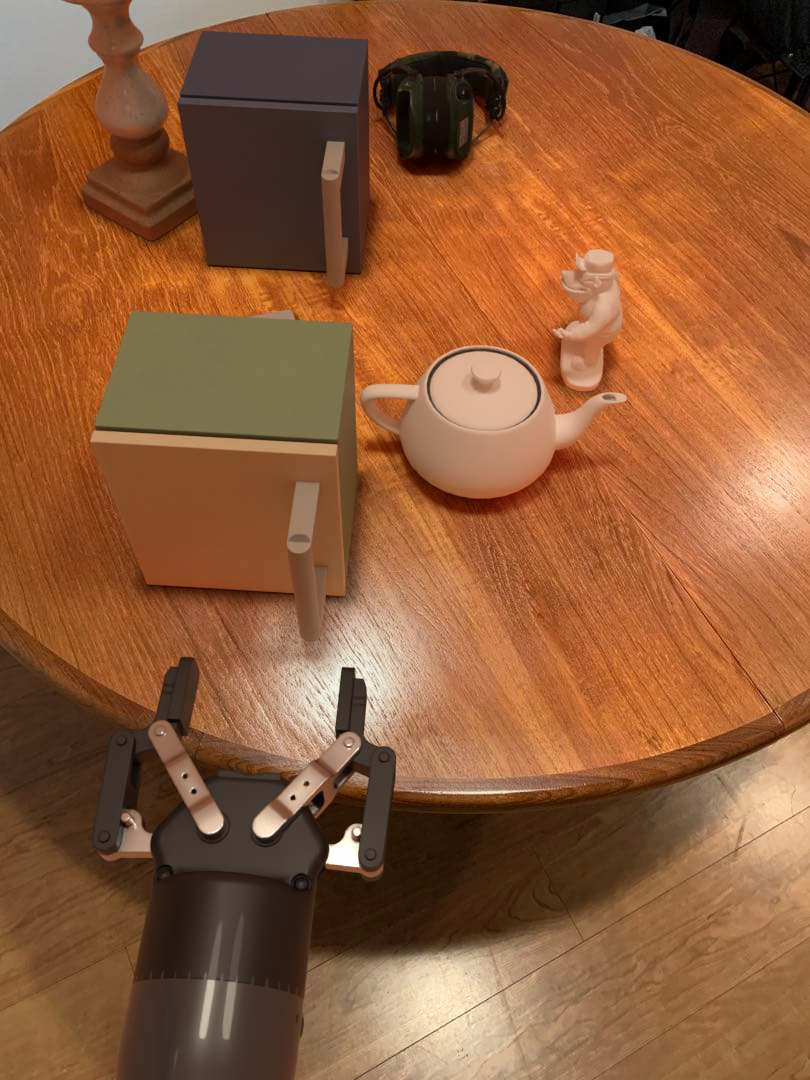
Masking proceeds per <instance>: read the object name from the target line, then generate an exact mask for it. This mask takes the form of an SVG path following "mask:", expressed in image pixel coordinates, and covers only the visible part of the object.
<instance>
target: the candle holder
mask: <svg viewBox="0 0 810 1080" xmlns="http://www.w3.org/2000/svg"><path fill="white" fill-rule="evenodd" d="M61 1H62V2H64V3H69V4H72V5H78V6H80V7H82V8H84V9H85V10H86V11H87V13H88V14H89V16H90V18H91V21H92V22H91V26H92V27H91V30H90V33H89V35H88V38H87V45H88V47H89V48H90V50H92V51H93V52H94V53H95V55H96V56H97V57H98V58H99V59H100V60H101V61H102V63H103V66H104V67H103V74H102V78H101V81H100V83H99V86H98V89H97V92H96V96H95V99H94V111H95V116H96V119H97V122H98V123H99V124H100V126H101V127H102V128H103V129H104V130H105V131H106V132H108V133H109V134H111V135H110V138H109V146H110V149H111V151H112V154H113V157H110V159H108V160H107V161H105V162H104V163H101V164H100V165H99V166H98V167H96V168H95V169H93V170H91V171H90V172H89V173H88V175H87V177H86V180H87V183H85V184H84V185H82V187H80V193H81V196H82V199H83V203H84V204H85V205H86V206H87V207H89V208H91V209H92V210H93V211H95V212H97V213H99V214H101V215H102V216H104V217H106V218H108V219H109V220H111V221H113V222H114V223H116V224H118V225H120V226H122V227H123V228H125V229H127V230H128V231H130V232H131V233H134V234H135V235H137V236H139V237H140V238H143V239H145V240H147V241H150V242H153V241H156V240H158V239H160V238H161V237H163V236H164V235H166V234H167V233H169V232H170V231H172V230H173V229H174V228H176V227H177V226H179V225H180V224H182V223H183V222H185V221H186V220H188V219H189V218H191V217H192V216H193V215H195V214H196V213H198V211H197V205H196V200H195V195H194V190H193V184H192V179H191V174H190V169H189V163H188V158H187V154H186V155H185V154H183V153H182V152H181V151H179V150H176V149H174V148H173V147H170V144H171V141H170V140H171V139H170V136H169V133H168V131H167V130H166V128H165V127H164V126H165V125H166V123H167V120H168V118H169V114H170V113H169V112H170V107H169V102H168V99H167V96H166V95H165V93H164V91H163V90H162V88H161V87H160V86H159V84H158V83H157V82H156V81H155V80H154V79H153V78H152V77H151V76H150V75H149V73H147V72H146V71H145V69H144V68H143V66H142V65H141V63H140V61H139V54H140V52H141V47H142V46H143V44H144V42H145V41H144V40H145V38H144V34H143V32H142V31H141V29H140V28H138V27H137V25H136V24H134V22H133V21H132V19H131V16H130V6H131V4H132V2H133V0H61Z"/></svg>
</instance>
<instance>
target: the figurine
mask: <svg viewBox="0 0 810 1080" xmlns="http://www.w3.org/2000/svg"><path fill="white" fill-rule="evenodd" d="M574 256H575V261H574V264H575V267H576V268H577V269H572V270H571V269H568V270H566V269H563V270H562V271H561V273H560V275H561V278H560V285H561V288H562V289H563V292H564V294H565V295H566V296H567V298H569V299H570V300H571V301H573V302H575V303H577V311H576V314H577V320H574V321H571V322H570V323H569V324H568V325H567V326H566V327H565V329H564V328H563V327H559V328H557V329H555V328H552V332H553V334H554V335H555V336H556V337H557V338H558V339H561V341H560V358H559V359H560V362H559V368H560V375H561V378H562V381H563V383H564V384H565V386H566V387H568V388H569V389H571V390H572V391H576V392H592V391H594V390H596V389H597V387H599V385H600V383H601V380H602V377H603V372H604V348H605V346H606V345H608V344H610V343H611V342H612V341H614V340H615V339H616V338H617V336H619V334H620V333H621V331H622V327H623V317H624V316H623V315H624V314H623V305H622V302H621V289H620V286H619V284H620V281H621V277H620V274H619V272H618V271H617V270H616V269H615V267H614V262H615V256H614V254H613V253H612V252H611V251H609V250H605V249H600V248H599V249H598V248H595V249H594V248H593V249H589V250H588V251H586V253H585V254H584V256H583V257H581V256H580V255H579V253H578V252H577V251H575V252H574Z"/></svg>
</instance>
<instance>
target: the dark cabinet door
mask: <svg viewBox="0 0 810 1080" xmlns="http://www.w3.org/2000/svg"><path fill="white" fill-rule="evenodd" d="M176 106H177V109H178V116H179V120H180V127H181V131H182V137H183V143H184V148H185V152H186V156H187V158H188V163H189V169H190V174H191V179H192V184H193V190H194V195H195V200H196V205H197V211H198V212H197V214H198V215H197V216H198V221H199V226H200V231H201V236H202V242H203V247H204V252H205V257H206V263H207V266H221V267H222V266H223V267H224V266H226V267H242V268H258V269H259V268H261V269H278V270H292V271H293V270H294V271H313V272H326V278H327V281H326V282H327V284H328V286H329V287H330V288H332V289H338V288H341V287H343V286H344V284H345V278H346V277H345V276H346V273H347V274H348V273H349V274H351V273H353V274H361V273H362V266H361V220H360V172H359V125H358V107H353V106H334V105H315V104H296V103H278V102H259V101H240V100H221V99H202V98H183V97H180V96H179V97H178V100H177V102H176Z"/></svg>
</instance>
